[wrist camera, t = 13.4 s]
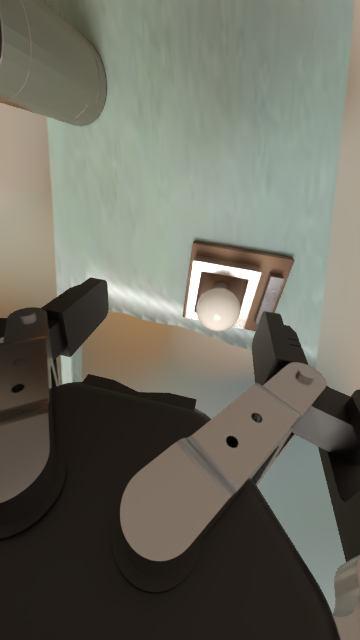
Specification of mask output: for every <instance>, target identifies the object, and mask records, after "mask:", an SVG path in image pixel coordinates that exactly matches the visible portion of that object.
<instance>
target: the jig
mask: <svg viewBox="0 0 360 640" xmlns="http://www.w3.org/2000/svg"><path fill="white" fill-rule="evenodd" d="M293 263H294V259H293V258H292V257H286V256H280V255H274V254H268V253H262V252H256V251H250V250H244V249H238V248H232V247H226V246H220V245H214V244H208V243H202V242H196V241H194V242H193V246H192V253H191V261H190V268H189V275H188V282H187V289H186V296H185V303H184V311H183V317H186V318H191V319H196V320H199V319H198V316H197V312H196V307H197V302H198V300H199V298H200V297H201V295H202V294H203V293H204V292H206V291H207V290H209V289H212V288H213V286H214V285H215V284H216V283H218V282H223V283H225V284H227V286H228V288H229V290H230V291H231V292H232V293H234V294H235V296H236V297H237V298H238V300H239V303H240V315H239V318H238V320H237V321H236V323H235V324H234V325H233V326H232V327H236V328H241V329H248V330H253V331H256V329H257V327H258V324H259V321H260V318H261V315H262V313H263V312H264V311H267V312H272V313H274V312H275V310H276V307H277V305H278V302H279V299H280V297H281V294H282V291H283V289H284V286H285V284H286V281H287V278H288V276H289V273H290V270H291V268H292V265H293Z"/></svg>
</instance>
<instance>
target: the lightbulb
mask: <svg viewBox="0 0 360 640" xmlns="http://www.w3.org/2000/svg"><path fill="white" fill-rule="evenodd" d="M196 312H197V316H198V319H199V321H200V322H201V323H202V325H204V326H205V327H206V328H208V329H210V330H213V331H223V330H226V329H229V328H230V327H232V326H233V325H234V324H235V323H236V321H237V320H238V318H239V315H240V303H239V300H238V298H237V297H236V296H235V294H234V293H232V292H231V291H230V290H229V288H228V286H227V284H225V283H223V282H218V283H216V284H215V285H214V286H213V288H212V289H209V290H207V291H206V292H204V293H203V294H202V295H201V297H200V298H199V300H198V302H197V307H196Z"/></svg>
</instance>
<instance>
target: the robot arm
mask: <svg viewBox="0 0 360 640" xmlns="http://www.w3.org/2000/svg"><path fill="white" fill-rule="evenodd" d="M106 86H107V85H106V76H105V72H104V68H103V64H102V62H101V60H100V57H99V55H98V53H97V52H96V50H95V49H94V47H93V46H92V45H91V43H90V42H89V41H88V40H87V39H86V38H85V37H84V36H83V35H81V34H80V33H79V32H78V31H77V30H76V29H75V28H74V27H73V26H72V25H70V23H68V22H67V21H66V20H65V19H64V18H63V17H62V16H61V15H60V14H58V13H57V12H56V11H55V10H54V9H53V8H52V7H51V6H50V5H49V4H47V3H46V2H45V1H44V0H0V102H1V103H4V104H7V105H10V106H14V107H17V108H21V109H24V110H27V111H30V112H33V113H37V114H40V115H43V116H47V117H50V118H53V119H56V120H59V121H62V122H66V123H69V124H72V125H77V126H84V125H88V124H90V123H92V122H93V121H95V120H96V119H97V118H98V116H99V115H100V113H101V112H102V109H103V107H104V104H105V99H106ZM107 313H108V289H107V282H106V281H105V280H101V279H96V278H89V279H88V280H86V281H85V282H83V283H82V284H81V285H77V286H74V287H72V288H69V289H68V290H66V291H65V292H64V293H63V294H61V295H59V296H58V298H57V297H56V298H55V299H53V300H52V301H51V302H49V303H48V304H47V305H45V306H43V307H42V308H24V309H20V310H17V311H15V312H13V313H11V314H10V315H9V316H8V318H0V640H360V390H356V391H355V392H354V393H353V394H352V396H351V397H350V396H348V395H345V394H343V393H341V392H338V391H335V390H334V389H331V388H329V387H328V386H326V380H325V378H324V377H323V376H322V374H321V373H319V372H318V371H317V370H316V369H314V368H313V367H311V366H309V365H308V362H307V360H306V357H305V355H304V352H303V349H302V348H301V344H300V342H299V339H298V336H297V334H296V332H295V331H294V330H293V329H292V328H291V327H290V326H286V325H284V324H283V321H282V318H281V315H280V314H277V313H272V312H267V311H264V312H263V313H262V315H261V318H260V321H259V324H258V327H257V329H256V332H255V335H254V338H253V343H252V355H253V365H254V374H255V384H254V385H253V386H252V387H251V388H249V389H248V390H247V391H246V392H245V393H243V394H242V395H241V396H240V397H238V398H237V399H236V400H235V401H233V402H232V403H231V404H230V405H228V406H227V407H226V408H225V409H224V410H222V411H221V412H220V413H219V414H217V415H216V416H215V417H214V418H212V419H211V418H209V417H208V416H207V415H206V414H204V413H203V412H201V411H199V410H197V409H195V404H196V399H192V398H188V397H184V396H179V395H175V394H171V393H145V392H137V391H135V390H133V389H131V388H129V387H127V386H125V385H123V384H121V383H119V382H117V381H115V380H111V379H107V378H103V377H99V376H94V375H90V374H88V375H87V377H86V378H85V379H84V381H83V382H73V383H67V384H63V385H60V380H59V370H58V361H57V357H58V356H59V355H64V356H68V357H71V356H72V355H73V354H74V353H75V351H76V350H77V349H78V348H79V347H80V346H81V345H82V344H83V343H84V341H85V340H86V339H87V338H88V337H89V336H90V335H91V334H92V332H93V331H94V330H95V329H96V328H97V327H98V326H99V324H100V323H101V322H102V321H103V320H104V319H105V317H106V316H107ZM295 435H297V436H300V437H301V438H303V439H305V440H307V441H309V442H311V443H313V444H315V445H316V446H318V448H319V452H320V456H321V461H322V465H323V469H324V473H325V477H326V481H327V485H328V489H329V493H330V498H331V502H332V505H333V510H334V514H335V518H336V522H337V526H338V531H339V535H340V539H341V543H342V547H343V551H344V555H345V559H346V563H344V564H343V565H341V566H340V567H339V568H338V569H337V571H336V574H335V579H334V587H335V608H334V613H333V615H332V612H331V610H330V607H329V605H328V603H327V601H326V598H325V596H324V594H323V592H322V591H321V589H320V587H319V585H318V583H317V582H316V580H315V579H314V577H313V575H312V573H311V572H310V570H309V569H308V567H307V565H306V564H305V562H304V561H303V559H302V558H301V556H300V554H299V553H298V551H297V550H296V548H295V546H294V545H293V543H292V542H291V540H290V538H289V537H288V535H287V534H286V532H285V530H284V529H283V527H282V526H281V524H280V522H279V521H278V519H277V518H276V516H275V514H274V513H273V511H272V510H271V508H270V506H269V505H268V503H267V502H266V500H265V499H264V497H263V495H262V494H261V492H260V491H259V489H258V487H257V484H258V483H259V482H260V481H261V479H262V478H263V476H264V475H265V473H266V472H267V471H268V469H269V468H270V466H271V465H272V464H273V462H274V461H275V460H276V459H277V457H278V456H279V455H280V453H281V452H282V451H283V450H284V448H285V447H286V446H287V444H288V443H289V442H290V441H291V439H292V438H293V437H294V436H295Z"/></svg>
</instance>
